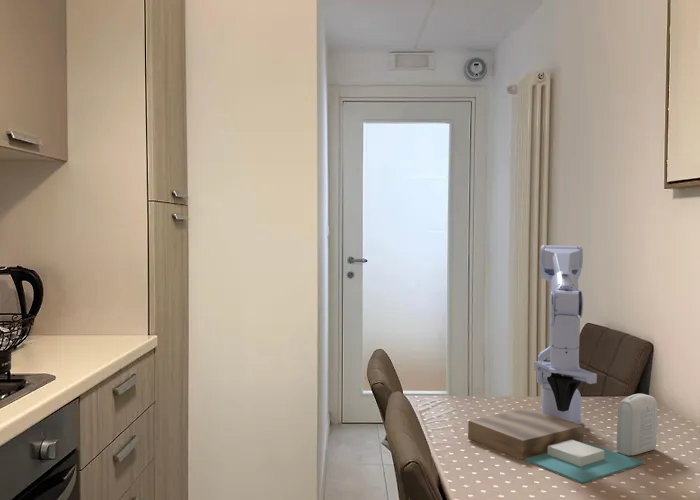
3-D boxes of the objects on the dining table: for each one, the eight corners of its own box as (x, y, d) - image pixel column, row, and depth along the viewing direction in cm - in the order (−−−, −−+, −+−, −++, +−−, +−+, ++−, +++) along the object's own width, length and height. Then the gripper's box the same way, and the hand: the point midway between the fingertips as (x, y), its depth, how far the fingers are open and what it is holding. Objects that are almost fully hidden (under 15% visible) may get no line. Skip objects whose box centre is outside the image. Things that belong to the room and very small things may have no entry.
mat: (585, 444, 142) (585, 442, 142) (644, 463, 131) (644, 461, 130) (524, 460, 131) (524, 458, 131) (582, 483, 120) (582, 481, 119)
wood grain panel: (527, 424, 156) (528, 408, 156) (583, 443, 143) (584, 425, 142) (468, 437, 145) (468, 420, 145) (522, 459, 132) (523, 440, 131)
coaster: (571, 447, 138) (571, 439, 138) (604, 459, 132) (604, 450, 132) (547, 454, 134) (547, 445, 134) (580, 466, 127) (580, 457, 127)
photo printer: (640, 443, 143) (642, 389, 143) (659, 449, 139) (661, 393, 139) (613, 452, 137) (615, 395, 137) (631, 458, 134) (633, 400, 133)
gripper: (525, 342, 139) (523, 404, 139) (582, 354, 127) (580, 422, 127) (546, 340, 142) (545, 400, 143) (603, 351, 130) (601, 416, 131)
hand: (563, 410), depth 135 cm, fingers closed
